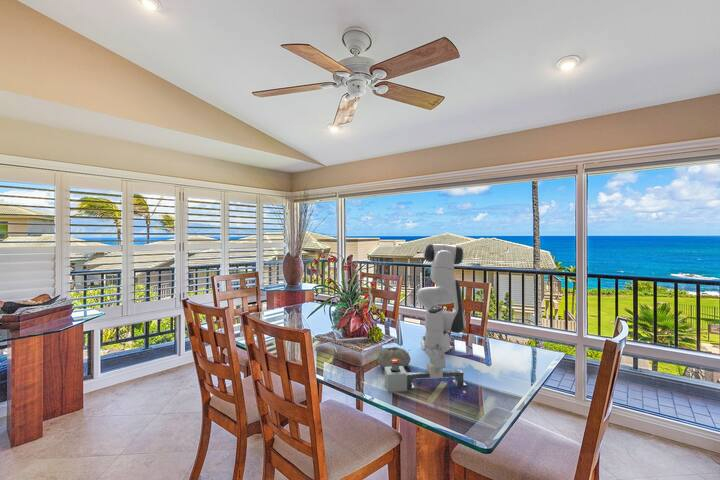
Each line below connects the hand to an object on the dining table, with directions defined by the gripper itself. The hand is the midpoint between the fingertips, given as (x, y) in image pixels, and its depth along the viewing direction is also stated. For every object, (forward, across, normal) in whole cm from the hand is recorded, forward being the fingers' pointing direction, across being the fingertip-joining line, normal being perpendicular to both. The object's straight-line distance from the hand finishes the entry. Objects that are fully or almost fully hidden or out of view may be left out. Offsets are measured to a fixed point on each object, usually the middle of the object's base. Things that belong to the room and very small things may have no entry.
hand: (434, 370), depth 155 cm
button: (+1, 0, +19) cm, 19 cm away
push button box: (+7, 0, +19) cm, 20 cm away
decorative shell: (+7, +23, +15) cm, 29 cm away
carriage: (+3, 0, 0) cm, 3 cm away
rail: (+7, 0, +1) cm, 7 cm away
